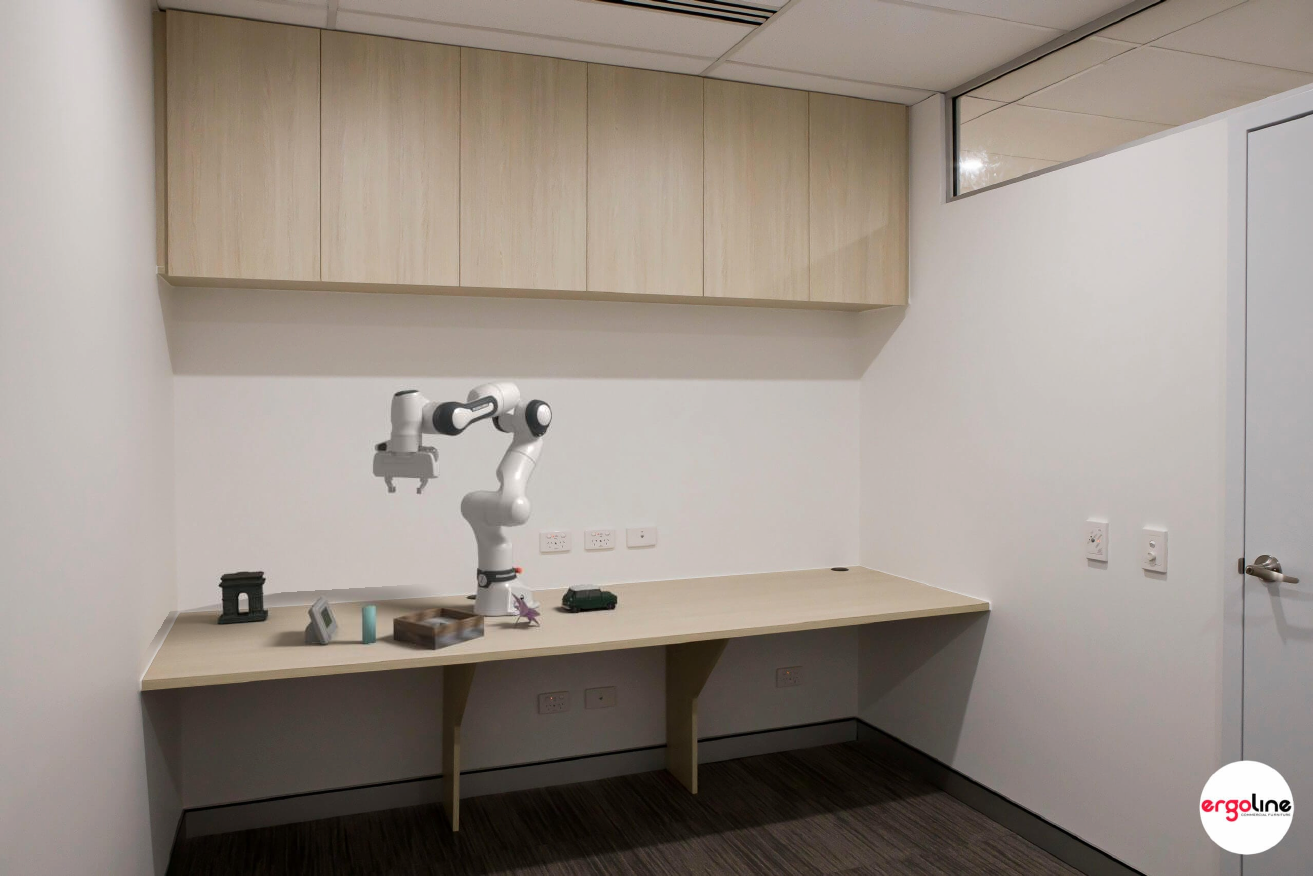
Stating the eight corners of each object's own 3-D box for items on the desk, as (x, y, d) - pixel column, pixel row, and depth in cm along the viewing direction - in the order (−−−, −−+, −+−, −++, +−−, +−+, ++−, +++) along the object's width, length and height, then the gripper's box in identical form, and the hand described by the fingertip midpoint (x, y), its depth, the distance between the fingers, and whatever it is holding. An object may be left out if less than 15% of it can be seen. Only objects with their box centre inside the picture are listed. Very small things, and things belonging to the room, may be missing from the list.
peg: (370, 640, 247) (370, 605, 247) (378, 642, 245) (378, 606, 245) (359, 642, 244) (359, 607, 244) (367, 644, 242) (367, 609, 242)
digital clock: (327, 646, 240) (326, 608, 240) (294, 646, 241) (294, 608, 240) (348, 631, 257) (348, 595, 256) (318, 631, 257) (318, 595, 256)
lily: (539, 635, 257) (550, 604, 260) (502, 621, 254) (514, 590, 258) (532, 638, 268) (543, 608, 271) (496, 624, 265) (508, 595, 269)
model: (268, 614, 276) (267, 568, 276) (267, 621, 268) (266, 573, 267) (220, 618, 271) (219, 571, 271) (217, 625, 263) (216, 576, 262)
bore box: (442, 626, 262) (442, 606, 262) (484, 635, 252) (484, 615, 252) (393, 639, 248) (393, 618, 247) (435, 649, 237) (435, 628, 237)
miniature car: (619, 609, 285) (620, 585, 285) (567, 614, 279) (567, 590, 278) (610, 604, 294) (610, 580, 293) (559, 608, 287) (559, 584, 286)
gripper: (443, 446, 252) (443, 493, 252) (382, 444, 258) (382, 491, 258) (432, 446, 246) (432, 495, 246) (369, 445, 252) (369, 492, 252)
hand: (406, 493), depth 252 cm, fingers open, 8 cm apart
